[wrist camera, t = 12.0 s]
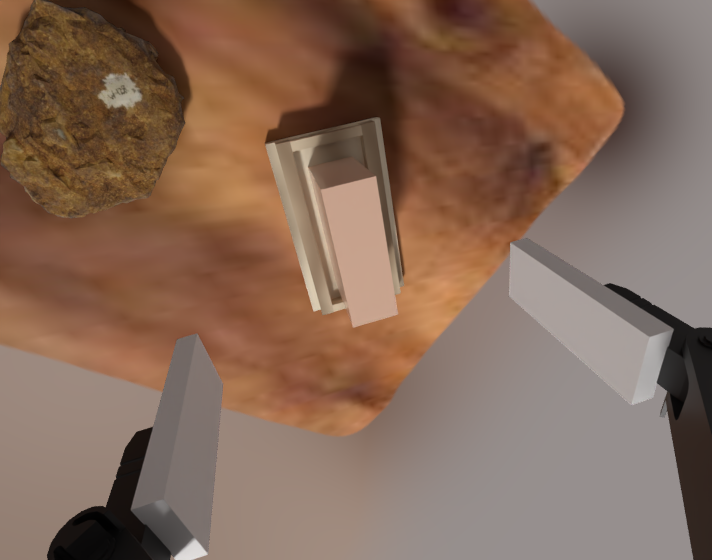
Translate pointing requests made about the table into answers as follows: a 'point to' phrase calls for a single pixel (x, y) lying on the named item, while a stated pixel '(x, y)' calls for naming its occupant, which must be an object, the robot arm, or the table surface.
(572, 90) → the table surface
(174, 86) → the decorative rock
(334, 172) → the clay block
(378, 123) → the cream rectangular tray
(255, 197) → the table surface
